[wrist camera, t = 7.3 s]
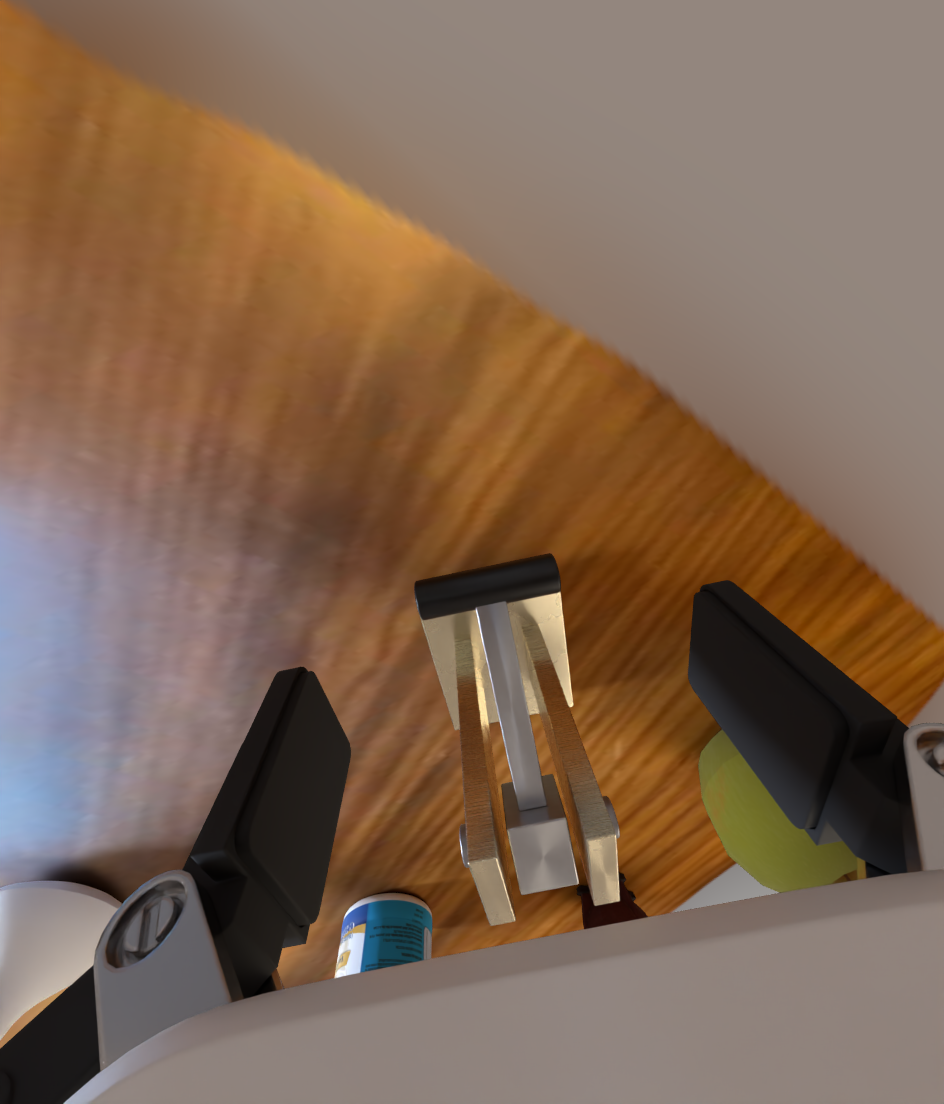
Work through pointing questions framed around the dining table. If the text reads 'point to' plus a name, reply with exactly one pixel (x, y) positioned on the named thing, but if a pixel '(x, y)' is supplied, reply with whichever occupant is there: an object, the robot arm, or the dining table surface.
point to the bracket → (550, 696)
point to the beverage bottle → (384, 933)
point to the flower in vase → (46, 940)
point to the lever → (513, 711)
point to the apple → (764, 826)
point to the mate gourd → (609, 908)
